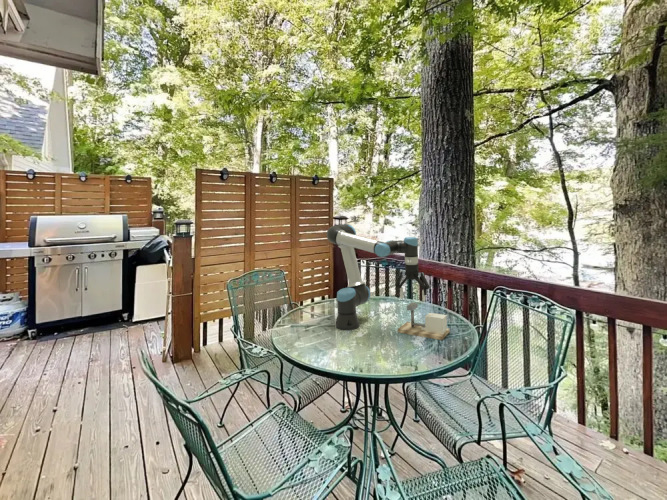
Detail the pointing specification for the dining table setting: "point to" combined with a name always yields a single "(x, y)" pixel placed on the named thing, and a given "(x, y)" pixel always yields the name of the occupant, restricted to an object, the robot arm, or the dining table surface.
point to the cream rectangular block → (435, 323)
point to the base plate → (420, 331)
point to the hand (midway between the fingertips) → (412, 299)
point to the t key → (412, 307)
